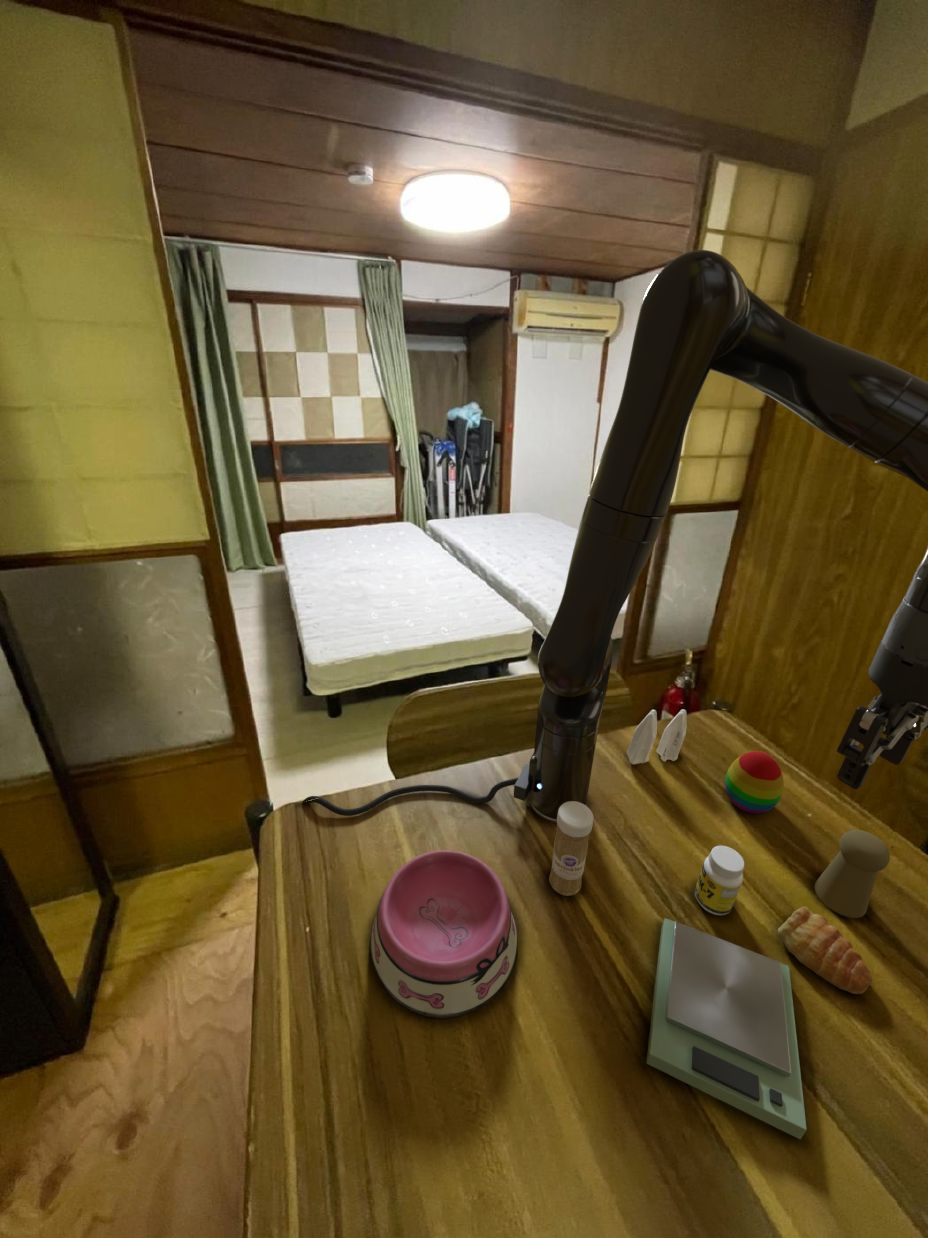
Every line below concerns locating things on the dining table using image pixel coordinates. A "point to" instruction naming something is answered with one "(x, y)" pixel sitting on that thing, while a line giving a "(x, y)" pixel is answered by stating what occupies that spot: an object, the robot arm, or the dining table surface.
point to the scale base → (726, 1058)
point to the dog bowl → (444, 935)
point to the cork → (852, 873)
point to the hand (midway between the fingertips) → (869, 771)
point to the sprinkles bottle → (570, 847)
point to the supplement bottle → (720, 880)
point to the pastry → (825, 951)
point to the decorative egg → (754, 782)
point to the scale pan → (728, 997)
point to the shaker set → (647, 734)
